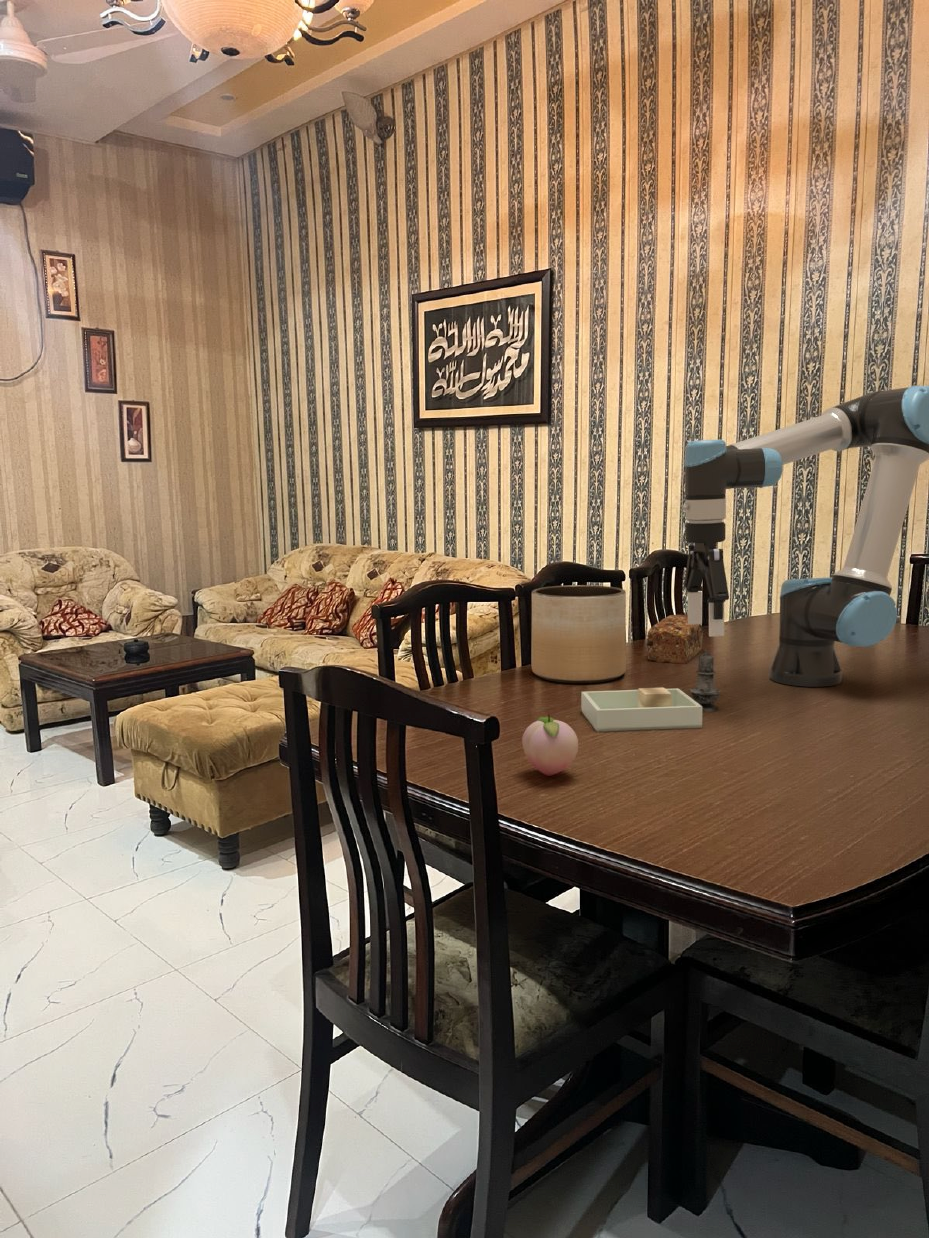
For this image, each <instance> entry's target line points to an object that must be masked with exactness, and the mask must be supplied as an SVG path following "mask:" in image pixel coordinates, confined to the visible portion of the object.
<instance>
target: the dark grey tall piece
mask: <svg viewBox="0 0 929 1238" xmlns="http://www.w3.org/2000/svg"><path fill="white" fill-rule="evenodd" d="M714 663H715V662H714V656H713V655H712V654H710V653H709V650H708V649H707V648H706V649H704V652H703V653H701V654H700V655H699V656H698V664H697V665H698V666H697V669H698V670H696V673H697V683H696V686H695V687H692V688H690V690H689V692H690V693H691V698H692V699H693V700H694V701H696V702H697V703H698V704H700V705H701V706H702V712H707V713H708V712H715V711H716V712H717V711H718V710H719V707H718V706H717V705H716V704H715V702H717V701H718V699H719V696H720V694H721V693H722V691H721V690H720V689H718V688H716V687H715V683H714V674H716V671H715V670H714Z"/></svg>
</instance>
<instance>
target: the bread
mask: <svg viewBox="0 0 929 1238" xmlns="http://www.w3.org/2000/svg"><path fill="white" fill-rule="evenodd" d="M703 630H704V628H703V625H702V624H691V625H689V624H688V614H687V615H686V614H670V615H668V616H666V617H665V618H663V619H660V621H658V622H657V623H656V624H654V625H653V626H652V627H650V628H649V629H648V631H647V634H646V638H647V639H646V645H647V648H646V651H647V657H648V660H649V661H651V662H652V661H653V662H656V663H663V662H666V663H667V662H668V663H672V664H683V665H685V664H687V663H688V662H690V661H691V660H692V659H693V658H694V657H696V656H697V655H698V654H699V653H700V651H701V647H702V643H703V641H702V640H703V635H704V634H703V633H704V632H703Z"/></svg>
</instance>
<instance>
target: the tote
mask: <svg viewBox="0 0 929 1238" xmlns="http://www.w3.org/2000/svg"><path fill="white" fill-rule="evenodd" d="M665 689H666V690H667V691H669V692H670V693H671V707H648V708H638V689H627V690H626V689H625V690H621V689H620V690H597V691H596V690H594V691H590V690H589V691H581V703H580V704H581V710H580V711H581V713H582V714H583V715H584V717H585V718H586V719H587V721H588V722H589V723H590V725H591V726H592V727H593V728H594V730H595V731H596V732H597V733H599V732H600V733H601V732H622V731H623V732H625V731H649V730H676V729H677V730H678V729H682V730H683V729H701V728H702V729H703V711H702V706H701V705H700V704H698V703H697V702H696V701H695V700H694V699H693V697H691V696H689V695H688V694H686V693H685V692H684V691H683V690H681V688H678V687H677V688H665Z"/></svg>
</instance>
